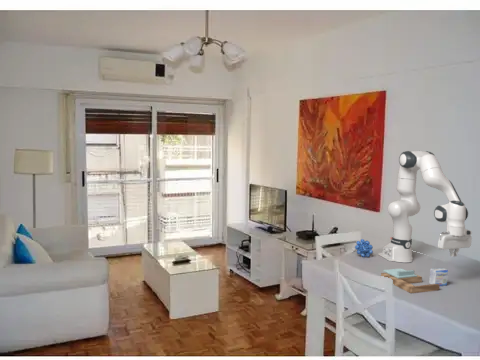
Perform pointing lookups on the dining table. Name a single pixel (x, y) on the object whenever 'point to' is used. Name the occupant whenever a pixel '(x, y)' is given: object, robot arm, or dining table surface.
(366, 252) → the grapes
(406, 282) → the puzzle board
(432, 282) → the medicine box
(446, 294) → the dining table surface
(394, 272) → the lid
